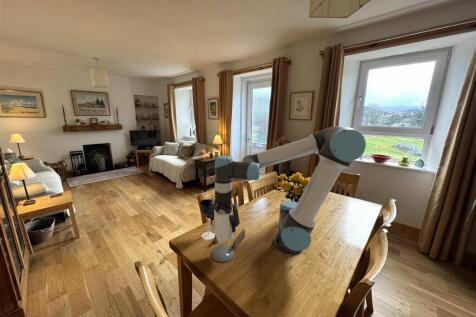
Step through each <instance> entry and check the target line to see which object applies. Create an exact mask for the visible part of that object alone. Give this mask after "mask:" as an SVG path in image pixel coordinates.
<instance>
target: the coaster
mask: <svg viewBox="0 0 476 317" xmlns="http://www.w3.org/2000/svg"><path fill="white" fill-rule="evenodd" d="M234 256H235V250H233V247H231V246H230V245H226V244H225V245H224V244H223V245H222V244H220V245H218V246H215V247H214V248H213V249H212V250H211V257H212V260H214V261H215V262H217V263H227V262H229V261H232V260H233V259H234V258H235V257H234Z"/></svg>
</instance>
